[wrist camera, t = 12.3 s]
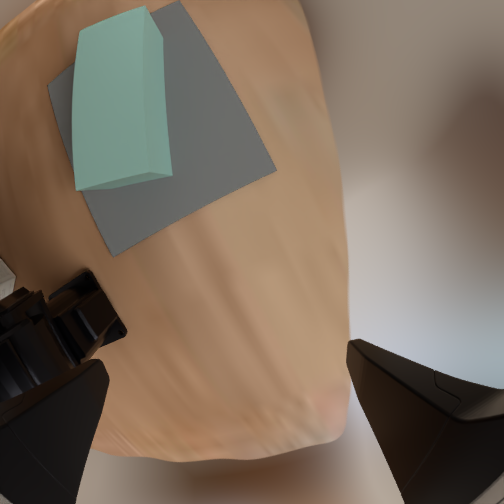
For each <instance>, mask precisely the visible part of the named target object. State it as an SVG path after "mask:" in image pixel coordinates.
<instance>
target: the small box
mask: <svg viewBox="0 0 504 504" xmlns="http://www.w3.org/2000/svg"><path fill="white" fill-rule="evenodd" d="M15 278H16V276H15V275H14V274H13V272H12V271H11V270H10V269H9V268H8V267H7V265H6V264H5V263H4V262H3V261H2V259H1V258H0V300H1V299H3V298H4V297H6V296H8V295H9V294H11V293H13V288H14V283H15Z"/></svg>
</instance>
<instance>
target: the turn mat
mask: <svg viewBox="0 0 504 504" xmlns="http://www.w3.org/2000/svg"><path fill="white" fill-rule="evenodd" d="M150 15H151V17H152V19H153V20H154V22H155V24H156V26H157V28H158V29H159V31H160V33H161V35H162V36H163V57H164V82H165V100H166V114H167V126H168V137H169V147H170V157H171V166H172V174H173V176H169V177H164V178H159V179H154V180H149V181H144V182H139V183H135V184H130V185H126V186H122V187H118V188H113V189H99V190H82V193H83V196H84V198H85V200H86V203H87V205H88V207H89V209H90V212H91V214H92V216H93V218H94V220H95V222H96V225H97V227H98V229H99V231H100V233H101V235H102V237H103V239H104V241H105V243H106V245H107V247H108V249H109V251H110V253H111V254H112V256H113V257H115V256H117V255H118V254H120V253H122V252H123V251H125V250H127V249H128V248H130V247H132V246H133V245H135V244H137V243H138V242H140V241H142V240H144V239H145V238H147V237H149V236H151V235H152V234H154V233H156V232H158V231H159V230H161V229H163V228H165V227H167V226H168V225H170V224H172V223H174V222H176V221H177V220H179V219H181V218H183V217H185V216H187V215H188V214H190V213H192V212H194V211H196V210H198V209H200V208H202V207H204V206H206V205H207V204H209V203H211V202H213V201H215V200H217V199H219V198H221V197H223V196H225V195H227V194H229V193H231V192H233V191H235V190H237V189H239V188H241V187H243V186H245V185H247V184H249V183H252V182H254V181H256V180H258V179H260V178H262V177H264V176H266V175H268V174H271V173H273V172H275V171H277V170H276V167H275V165H274V163H273V161H272V159H271V157H270V155H269V153H268V151H267V149H266V148H265V146H264V144H263V142H262V140H261V138H260V136H259V134H258V132H257V130H256V128H255V126H254V124H253V123H252V121H251V119H250V117H249V115H248V113H247V111H246V110H245V108H244V106H243V104H242V102H241V100H240V99H239V97H238V95H237V93H236V91H235V90H234V88H233V86H232V84H231V83H230V81H229V79H228V77H227V76H226V74H225V72H224V70H223V69H222V67H221V65H220V64H219V62H218V60H217V59H216V57H215V55H214V54H213V52H212V50H211V49H210V47H209V45H208V44H207V42H206V41H205V39H204V37H203V36H202V34H201V33H200V31H199V29H198V28H197V26H196V25H195V23H194V22H193V20H192V19H191V17H190V16H189V14H188V13H187V11H186V10H185V8H184V7H183V5H182V4H181V2H180V1H176V2H174V3H172V4H170V5H167V6H165V7H163V8H161V9H159V10H157V11H155V12H153V13H151V14H150ZM74 70H75V62H74V63H73V64H72V65H70V66H69V67H68V68H67V69H65V70H64V71H63V72H62V73H61V74H60V75H58V76H57V77H56V78H55V79H54V80H53V81H52V82H51V83H49V84H48V85H47V86H48V90H49V95H50V99H51V103H52V106H53V110H54V114H55V117H56V121H57V124H58V127H59V131H60V134H61V137H62V140H63V143H64V146H65V149H66V152H67V155H68V157H69V160H70V163H71V166H72V168H73V171H74V165H73V148H72V97H73V81H74Z"/></svg>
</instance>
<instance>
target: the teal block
mask: <svg viewBox="0 0 504 504" xmlns="http://www.w3.org/2000/svg"><path fill="white" fill-rule="evenodd" d="M72 148H73V165H74V177H75V186H76V191H82V190H99V189H113V188H118V187H122V186H126V185H130V184H135V183H139V182H144V181H149V180H154V179H159V178H164V177H169V176H173V174H172V166H171V157H170V147H169V137H168V126H167V114H166V100H165V82H164V57H163V36H162V35H161V33H160V31H159V29H158V28H157V26H156V24H155V22H154V20H153V19H152V17H151V15H150V13H149V12H148V10H147V8H146V6H142V7H139V8H136V9H133V10H130V11H127V12H124V13H121V14H118V15H116V16H113V17H111V18H108V19H106V20H103V21H101V22H98V23H96V24H94V25H92V26H89V27H87V28H85V29H83V30H81V31H80V33H79V39H78V46H77V53H76V60H75V70H74V81H73V97H72Z"/></svg>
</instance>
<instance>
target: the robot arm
mask: <svg viewBox="0 0 504 504" xmlns="http://www.w3.org/2000/svg"><path fill="white" fill-rule="evenodd" d="M87 275H88V276H89V279H88V277H87ZM43 297H44V295H43V293H42V290H39V291H37V292H35V293H34V291H28V290H27V289H26V288H24V287H22V288H20V289H18V290H16V291H15V292H13V293H11V294H9V295H8V296H6V297H4V298H3V299H1V300H0V504H75V503H76V497H77V494H78V490H79V486H80V482H81V478H82V475H83V471H84V467H85V463H86V460H87V457H88V454H89V450H90V447H91V444H92V441H93V438H94V435H95V432H96V429H97V426H98V423H99V420H100V417H101V414H102V410H103V406H104V402H105V398H106V394H107V390H108V386H109V381H110V380H109V375H108V373H107V371H106V368H105V366H104V364H103V362H102V361H101V360H100V359H90V358H91V357H92V356H93V354H94V353H95V352H96V351H97V349H98V348H100V347H102V346H105V345H107V344H109V343H112V342H114V341H117V340H119V339H121V338H124V337H125V336H126V335H127V329H126V327H125V326H124V324H123V323H122V321H121V320H120V318H119V317H118V315H117V313H116V311H115V310H114V308H113V307H112V305H111V303H110V302H109V300H108V298H107V297H106V295H105V293H104V292H103V290H102V289H101V287H100V285H99V284H98V282H97V280H96V278H95V276H94V275H93V273H92V272H91V271H89V270H88V271H85V272H84V273H82V274H81V275H79V276H78V277H76V278H75V279H73V280H72V281H70V282H69V283H67V284H66V285H64V286H63V287H61V288H60V289H59V290H57V291H56V292H54V293H53V294H51V295H50V296H49V302H47V303H46V302H45V300H44V298H43ZM120 330H121V331H123V333H121V332H120ZM89 359H90V360H89ZM346 363H347V367H348V370H349V373H350V376H351V379H352V382H353V385H354V388H355V391H356V394H357V397H358V400H359V402H360V405H361V407H362V409H363V411H364V413H365V415H366V417H367V419H368V421H369V424H370V425H371V428H372V430H373V432H374V434H375V436H376V439H377V441H378V443H379V445H380V447H381V449H382V452H383V454H384V456H385V459H386V461H387V463H388V465H389V468H390V470H391V472H392V474H393V477H394V479H395V481H396V484H397V486H398V488H399V491H400V492H401V496H402V498H403V500H404V503H405V504H504V389H496V388H491V387H488V386H484V385H480V384H476V383H472V382H468V381H465V380H461V379H458V378H455V377H452V376H449V375H447V374H444V373H441V372H439V371H436V370H435V371H434V370H433V369H431V368H428V367H426V366H424V365H421V364H419V363H416V362H413V361H411V360H409V359H406V358H404V357H401V356H399V355H397V354H394V353H392V352H390V351H387V350H385V349H383V348H380V347H378V346H375V345H373V344H371V343H369V342H366V341H364V340H362V339H355V340H350V341H349V342H348V345H347V357H346Z"/></svg>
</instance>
